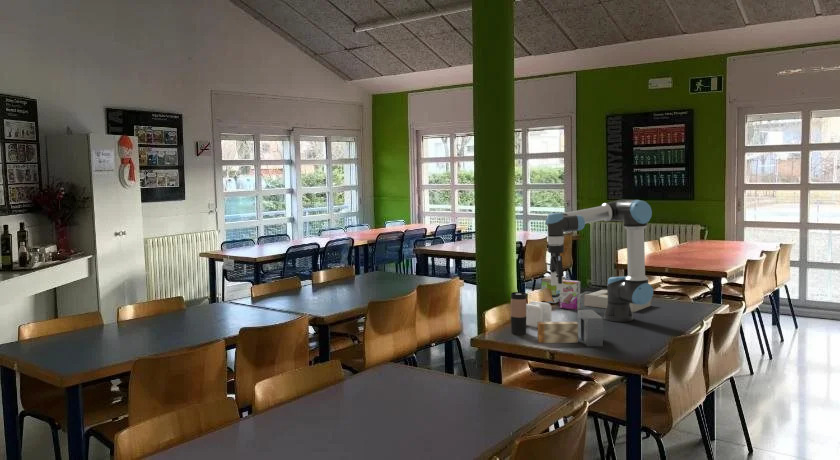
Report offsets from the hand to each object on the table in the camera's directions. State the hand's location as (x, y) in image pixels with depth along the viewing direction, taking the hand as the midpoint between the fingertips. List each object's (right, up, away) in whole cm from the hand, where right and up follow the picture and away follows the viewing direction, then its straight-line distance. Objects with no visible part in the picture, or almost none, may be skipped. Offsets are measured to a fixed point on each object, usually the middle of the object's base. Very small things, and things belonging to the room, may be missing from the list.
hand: (556, 287), depth 339 cm
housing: (+13, -24, -13) cm, 30 cm away
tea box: (+15, -16, +90) cm, 92 cm away
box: (+50, -17, +71) cm, 89 cm away
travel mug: (-18, -23, +5) cm, 30 cm away
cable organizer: (-7, -22, +22) cm, 32 cm away
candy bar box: (+20, -18, +65) cm, 70 cm away
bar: (-2, -24, -13) cm, 28 cm away
